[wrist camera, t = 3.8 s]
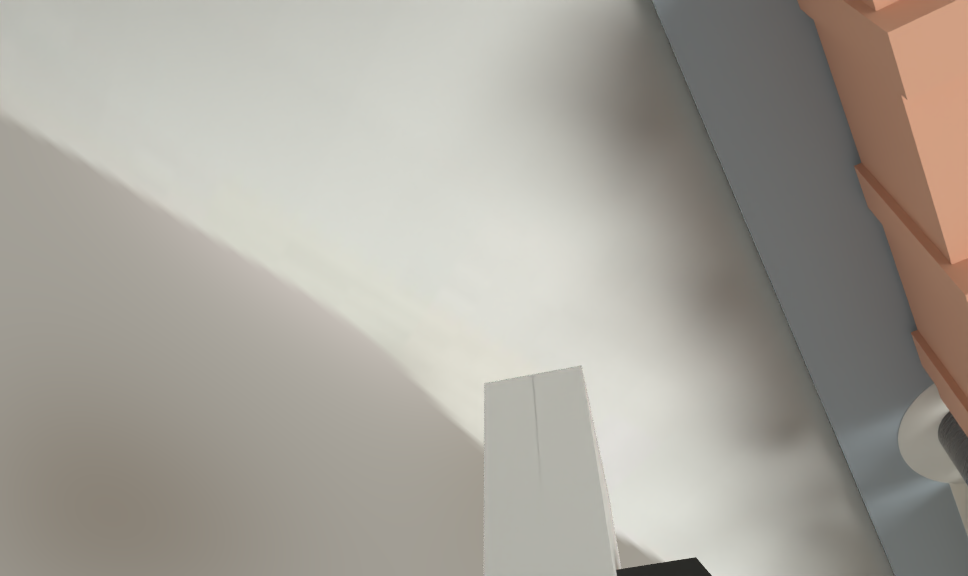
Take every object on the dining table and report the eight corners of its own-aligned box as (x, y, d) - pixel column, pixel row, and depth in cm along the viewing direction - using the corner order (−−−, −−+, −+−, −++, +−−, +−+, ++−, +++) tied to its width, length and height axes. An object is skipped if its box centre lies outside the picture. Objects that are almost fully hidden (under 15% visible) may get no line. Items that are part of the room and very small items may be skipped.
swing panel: (1001, 375, 20) (1132, 538, 16) (934, 400, 20) (1045, 564, 16) (850, -152, 15) (989, -111, 11) (761, -105, 15) (862, -48, 11)
